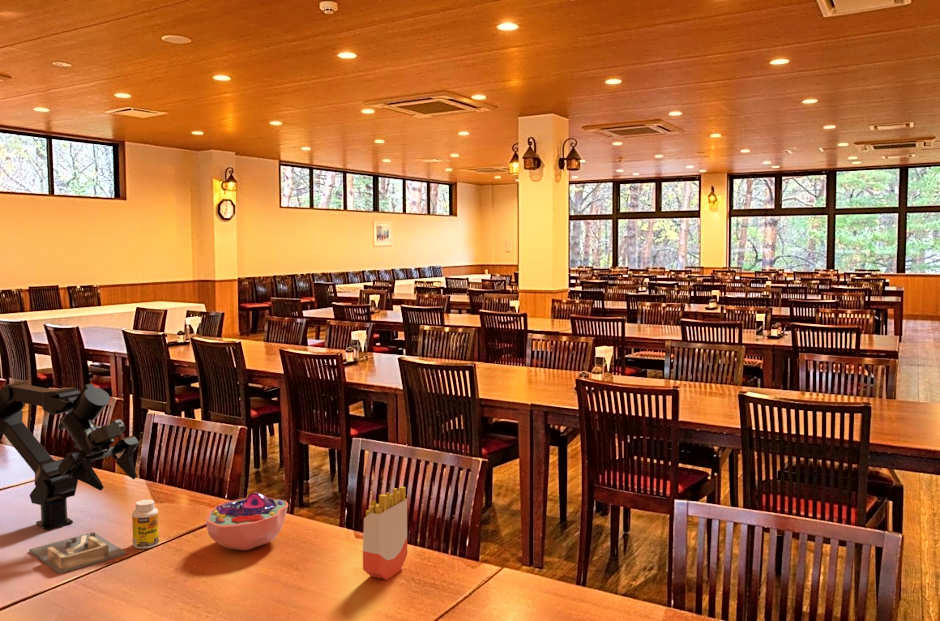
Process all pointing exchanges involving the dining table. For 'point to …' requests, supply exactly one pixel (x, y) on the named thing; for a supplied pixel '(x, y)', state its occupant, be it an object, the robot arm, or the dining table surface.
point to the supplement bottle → (145, 525)
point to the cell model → (246, 521)
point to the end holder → (79, 554)
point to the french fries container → (385, 535)
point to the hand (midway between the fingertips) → (118, 483)
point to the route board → (74, 550)
